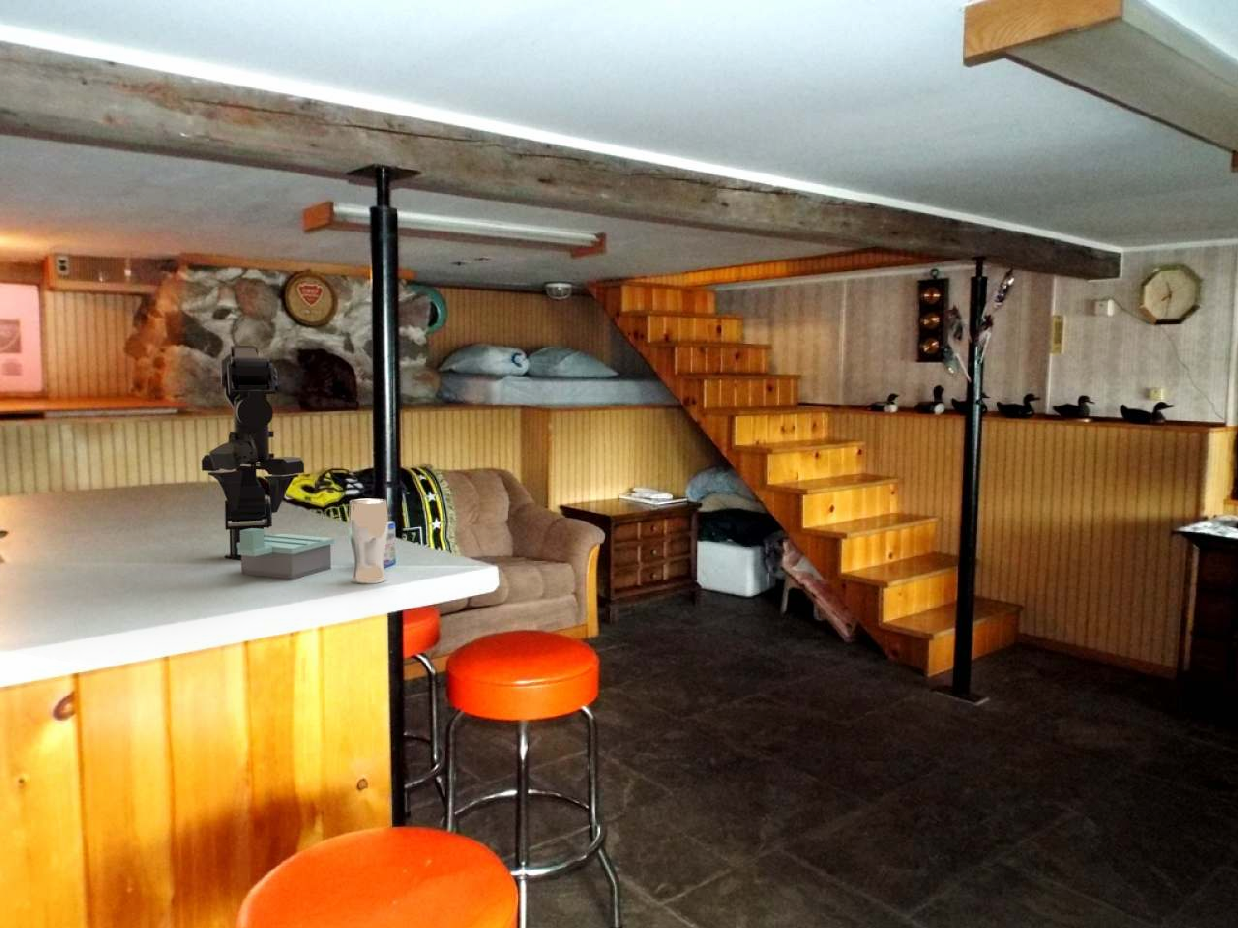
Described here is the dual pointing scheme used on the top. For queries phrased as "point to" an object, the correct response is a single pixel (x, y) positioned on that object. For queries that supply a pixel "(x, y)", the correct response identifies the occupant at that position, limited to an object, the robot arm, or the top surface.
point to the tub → (287, 563)
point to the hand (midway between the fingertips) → (253, 511)
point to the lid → (277, 542)
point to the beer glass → (368, 539)
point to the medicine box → (390, 546)
